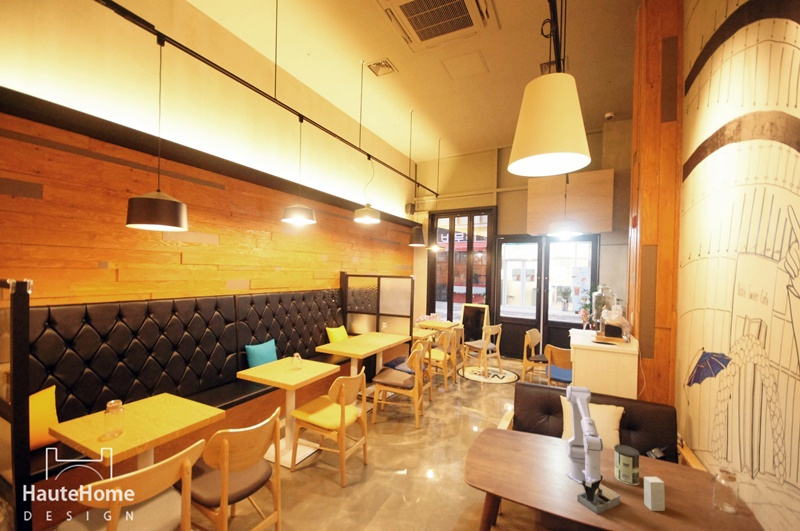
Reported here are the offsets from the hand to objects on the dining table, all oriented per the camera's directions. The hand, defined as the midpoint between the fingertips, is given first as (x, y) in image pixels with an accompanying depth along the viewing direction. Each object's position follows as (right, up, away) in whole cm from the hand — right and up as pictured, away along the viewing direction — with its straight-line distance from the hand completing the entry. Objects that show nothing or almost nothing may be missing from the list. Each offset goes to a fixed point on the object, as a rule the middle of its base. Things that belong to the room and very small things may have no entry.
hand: (592, 496), depth 143 cm
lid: (+8, -1, +4) cm, 9 cm away
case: (+4, -4, +2) cm, 6 cm away
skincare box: (+26, -5, -1) cm, 26 cm away
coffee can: (+28, -5, +19) cm, 35 cm away
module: (0, -3, 0) cm, 3 cm away
